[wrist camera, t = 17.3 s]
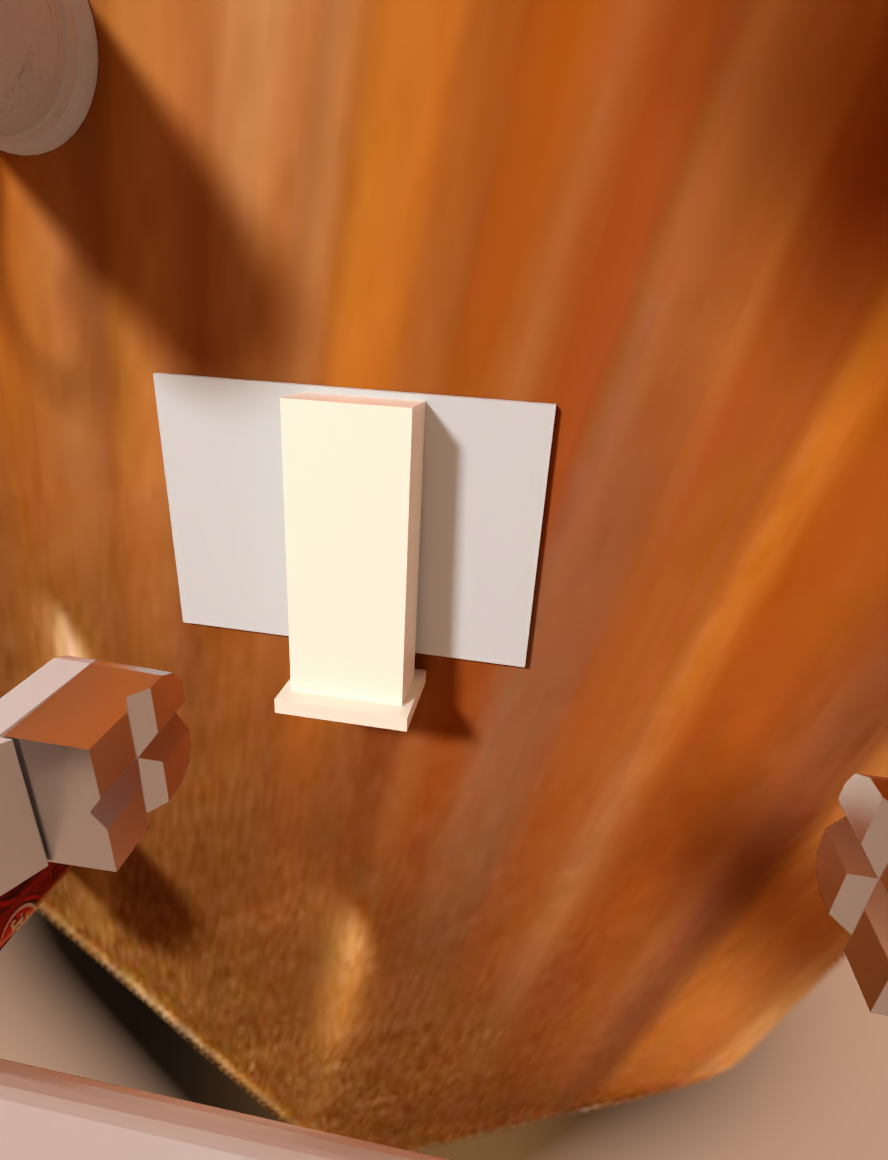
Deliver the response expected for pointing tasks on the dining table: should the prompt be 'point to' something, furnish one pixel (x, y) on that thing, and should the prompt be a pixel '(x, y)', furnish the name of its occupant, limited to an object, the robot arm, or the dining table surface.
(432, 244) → the dining table surface
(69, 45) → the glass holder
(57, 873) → the soda can
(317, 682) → the menu stand
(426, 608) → the mat
